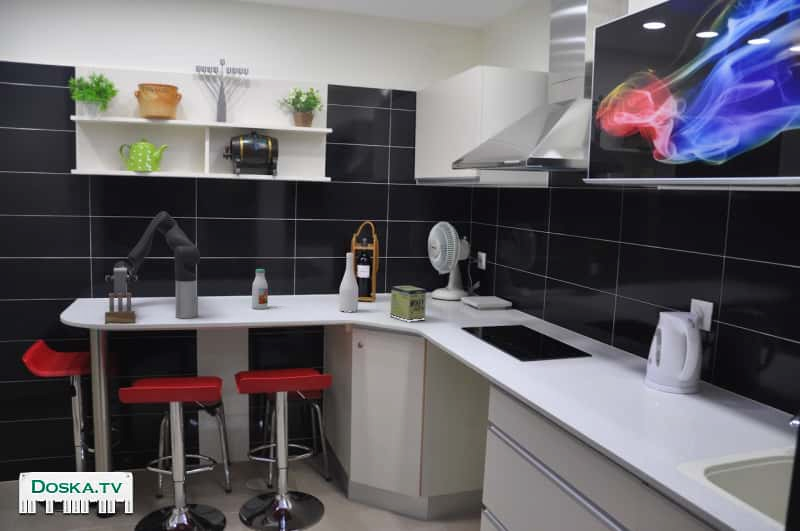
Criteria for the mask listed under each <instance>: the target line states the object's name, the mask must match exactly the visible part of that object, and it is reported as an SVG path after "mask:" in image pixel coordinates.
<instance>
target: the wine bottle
mask: <svg viewBox="0 0 800 531" xmlns="http://www.w3.org/2000/svg"><path fill="white" fill-rule="evenodd" d="M345 265H346V267H345V271H344V275H343V278H342V280H341V283H340V286H339V294H338V295H339V300H338V303H339V304H338V305H339V306H338V310H339V312H341V311H345V312H344V313H346V312H349V311H356V310H357V311H358V310H359V285H358V282H357V279H356V276H355V272H354V253H353V252H347V253H346V264H345ZM357 311H356V312H357Z"/></svg>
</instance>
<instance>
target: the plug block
mask: <svg viewBox="0 0 800 531" xmlns="http://www.w3.org/2000/svg"><path fill="white" fill-rule="evenodd" d="M113 268H114V267H113ZM113 275H114V283H113V293H114V298H116V297H117V298H118V293H123V296H122V297H127V296H126V293H128V283H126V278H127V268H114V272H113Z"/></svg>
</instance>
